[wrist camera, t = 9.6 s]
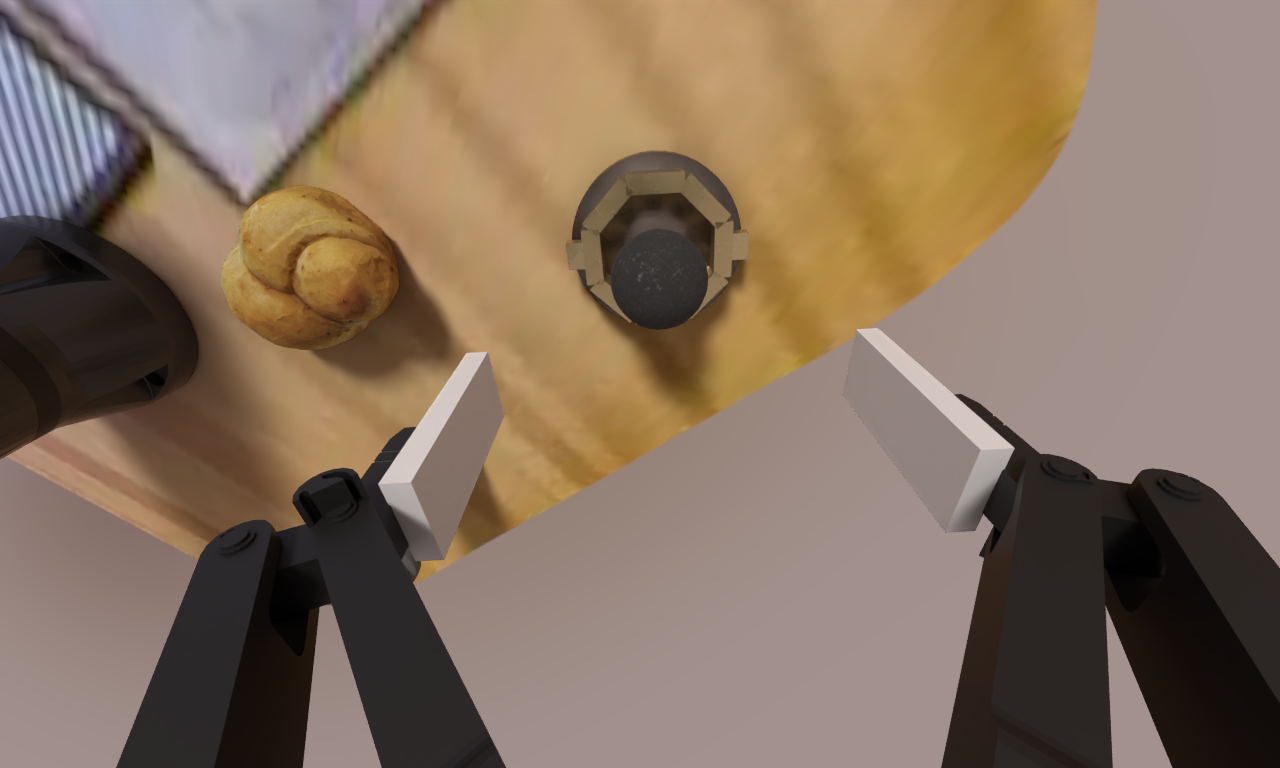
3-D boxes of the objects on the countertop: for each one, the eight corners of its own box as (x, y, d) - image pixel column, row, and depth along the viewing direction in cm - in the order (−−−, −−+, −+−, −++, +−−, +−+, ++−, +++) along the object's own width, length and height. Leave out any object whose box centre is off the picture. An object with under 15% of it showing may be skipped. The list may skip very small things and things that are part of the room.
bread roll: (339, 356, 38) (274, 410, 31) (226, 266, 34) (123, 305, 27) (439, 265, 34) (390, 304, 27) (325, 151, 30) (234, 163, 23)
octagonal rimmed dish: (582, 321, 37) (577, 340, 34) (560, 156, 30) (552, 161, 27) (735, 312, 36) (744, 330, 33) (744, 144, 30) (757, 148, 27)
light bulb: (600, 259, 33) (588, 313, 24) (642, 189, 30) (646, 221, 22) (664, 299, 34) (675, 363, 26) (709, 235, 32) (737, 282, 23)
